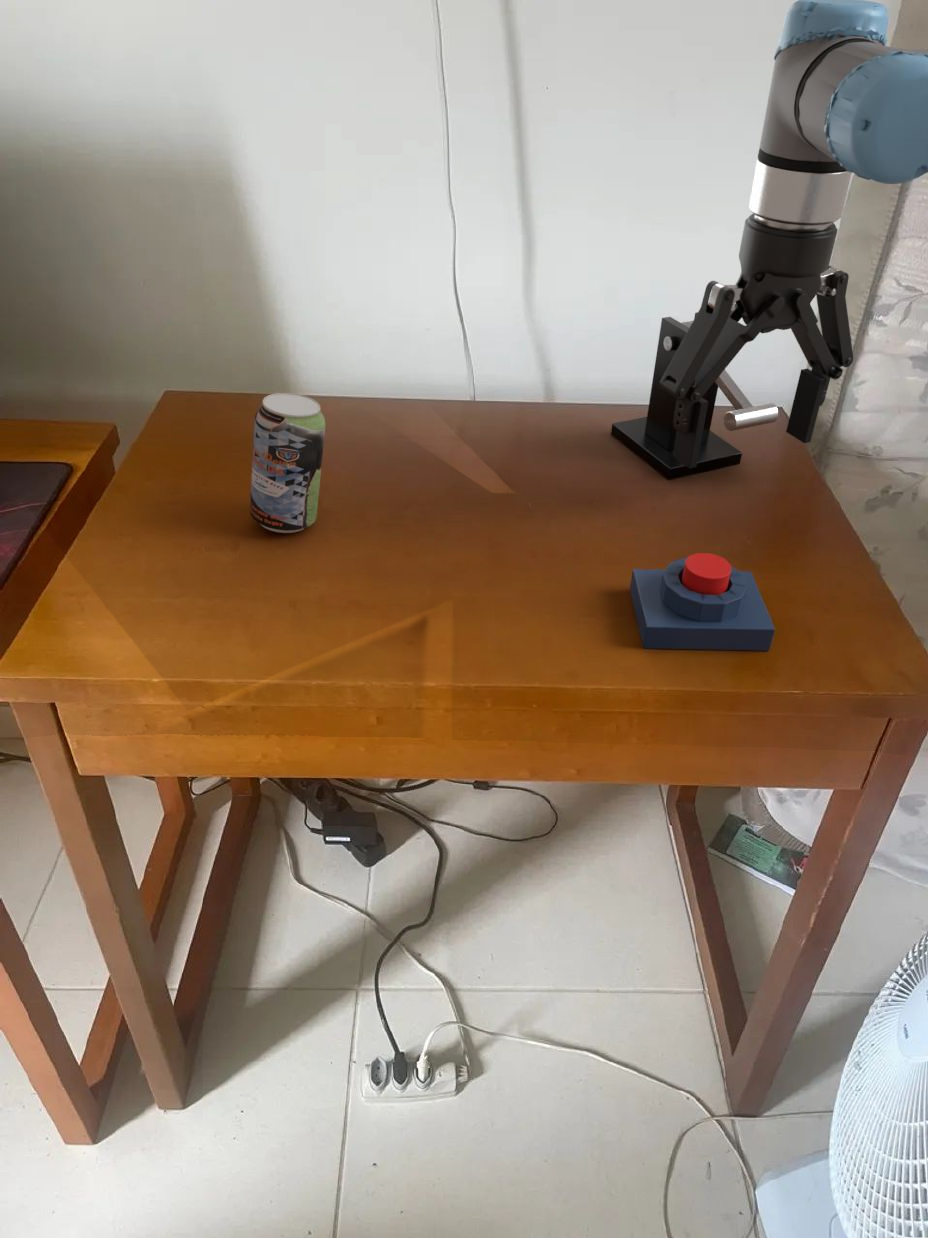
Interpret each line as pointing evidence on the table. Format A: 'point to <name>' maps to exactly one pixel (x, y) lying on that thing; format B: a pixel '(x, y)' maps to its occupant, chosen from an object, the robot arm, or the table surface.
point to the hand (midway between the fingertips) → (742, 449)
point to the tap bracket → (656, 430)
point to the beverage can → (287, 462)
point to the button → (706, 574)
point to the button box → (699, 612)
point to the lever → (742, 405)
